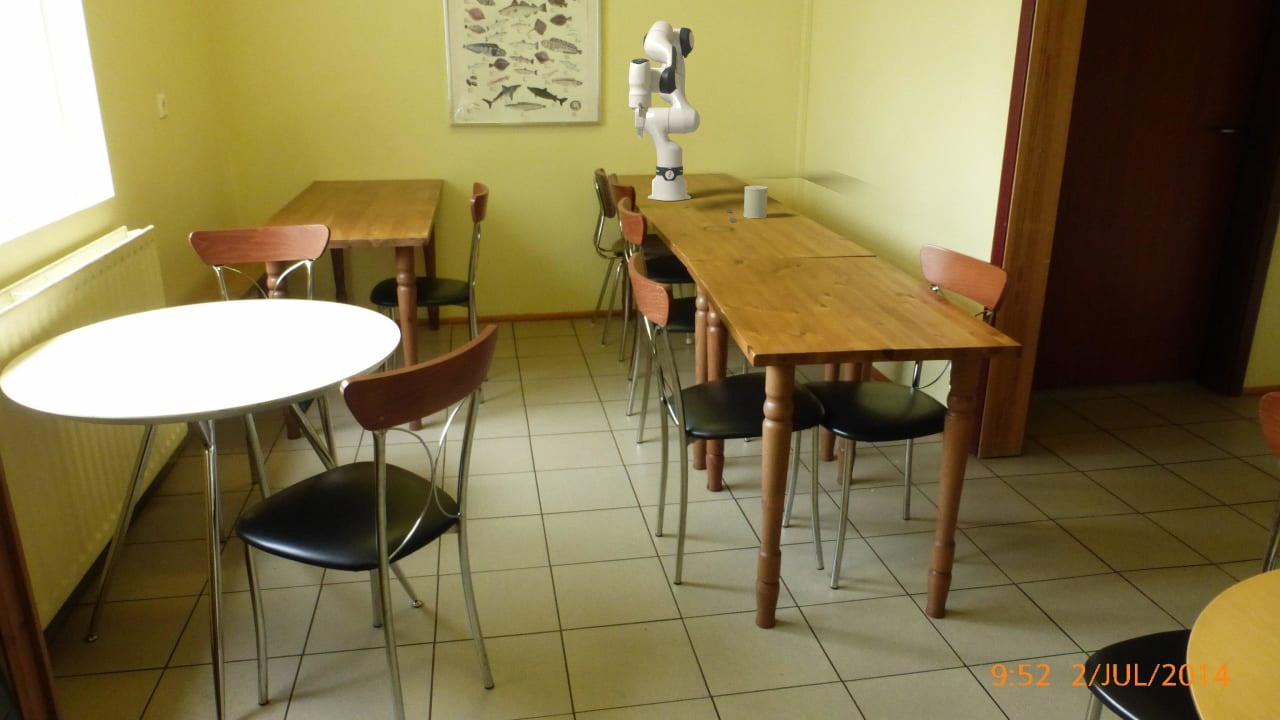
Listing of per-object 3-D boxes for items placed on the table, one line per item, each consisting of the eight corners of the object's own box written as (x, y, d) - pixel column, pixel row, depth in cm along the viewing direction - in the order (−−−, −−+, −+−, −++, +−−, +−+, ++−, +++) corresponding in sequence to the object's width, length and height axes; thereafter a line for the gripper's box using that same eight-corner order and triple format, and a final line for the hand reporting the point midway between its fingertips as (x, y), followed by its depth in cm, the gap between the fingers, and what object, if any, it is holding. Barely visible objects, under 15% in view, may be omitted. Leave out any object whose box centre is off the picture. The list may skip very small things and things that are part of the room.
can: (743, 218, 364) (744, 187, 360) (743, 214, 372) (744, 184, 369) (767, 219, 363) (768, 187, 359) (766, 214, 371) (767, 184, 368)
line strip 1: (726, 209, 383) (726, 208, 383) (730, 209, 383) (730, 208, 383) (727, 212, 376) (727, 212, 376) (731, 212, 376) (731, 212, 376)
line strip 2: (729, 218, 364) (729, 217, 363) (734, 218, 363) (734, 217, 363) (731, 222, 356) (731, 221, 356) (735, 222, 356) (735, 221, 356)
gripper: (647, 104, 353) (647, 141, 358) (648, 101, 373) (648, 136, 377) (631, 104, 354) (631, 141, 358) (632, 101, 373) (632, 136, 377)
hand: (640, 139), depth 368 cm, fingers closed
